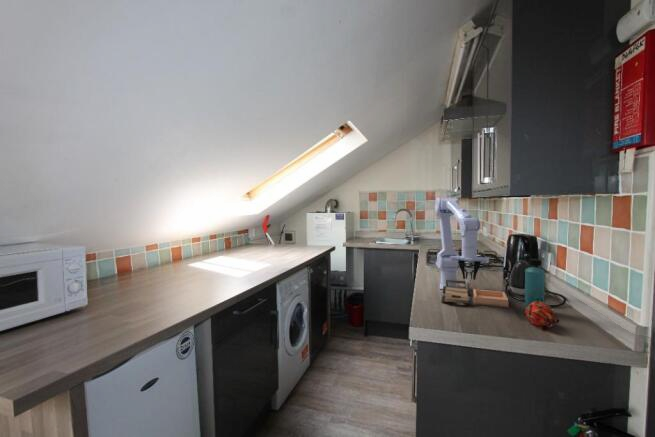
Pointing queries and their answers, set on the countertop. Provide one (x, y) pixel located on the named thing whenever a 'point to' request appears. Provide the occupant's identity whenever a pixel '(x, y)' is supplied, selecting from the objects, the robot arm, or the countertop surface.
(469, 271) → the pin
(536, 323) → the dragon fruit
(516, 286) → the pump dispenser
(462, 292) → the trolley
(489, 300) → the tray
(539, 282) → the teal bottle
